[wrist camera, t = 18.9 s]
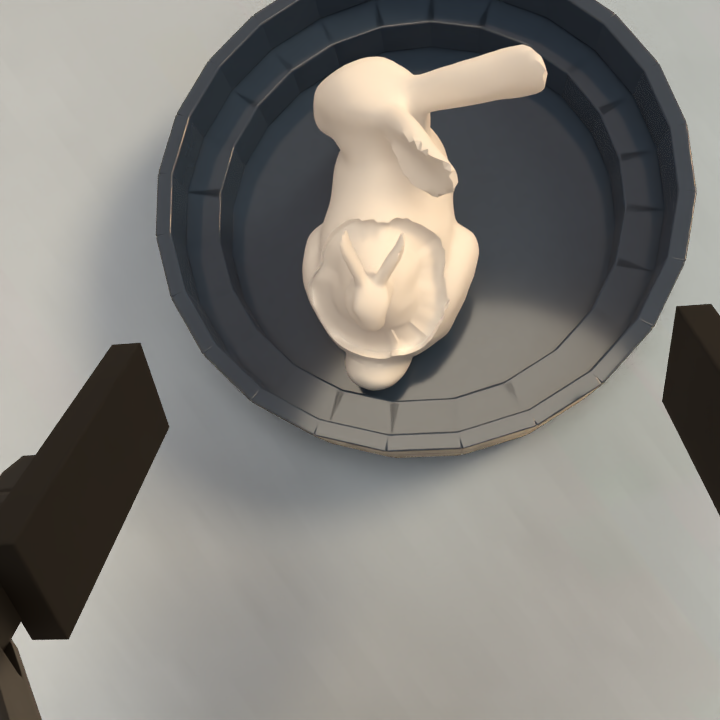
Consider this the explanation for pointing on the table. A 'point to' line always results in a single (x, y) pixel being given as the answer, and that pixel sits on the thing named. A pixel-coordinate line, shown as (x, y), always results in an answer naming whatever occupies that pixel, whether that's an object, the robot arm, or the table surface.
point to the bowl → (471, 209)
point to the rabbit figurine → (398, 207)
